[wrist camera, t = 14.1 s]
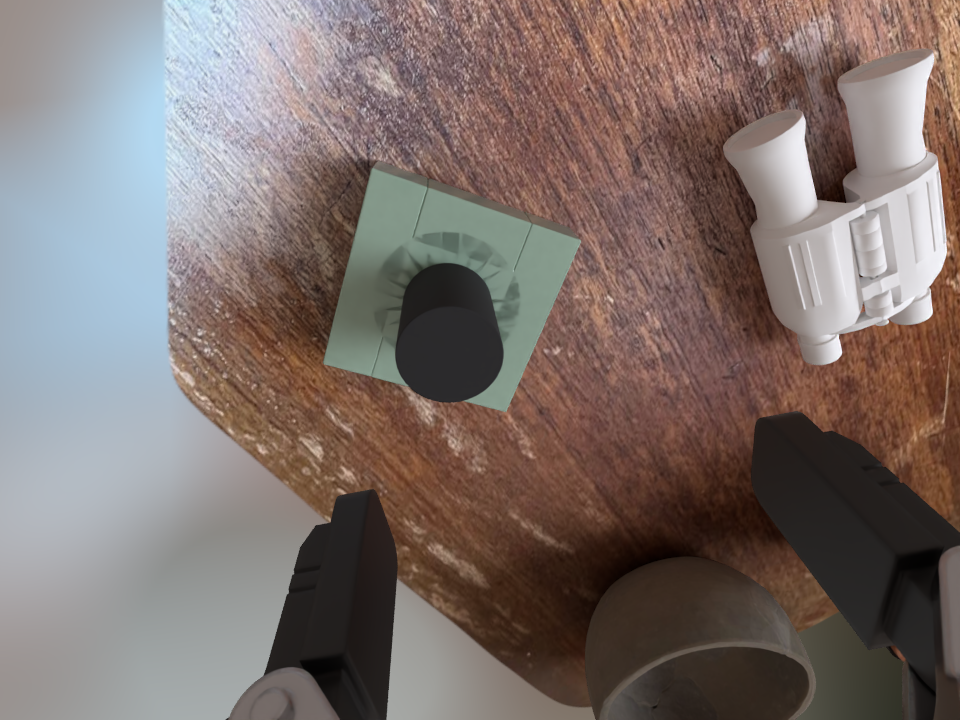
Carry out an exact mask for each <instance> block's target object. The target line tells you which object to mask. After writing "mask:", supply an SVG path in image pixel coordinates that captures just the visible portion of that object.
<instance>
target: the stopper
mask: <svg viewBox="0 0 960 720" xmlns="http://www.w3.org/2000/svg"><path fill="white" fill-rule="evenodd" d="M503 359H504V349H503V343H502V339H501V335H500V331H499V327H498V323H497V319H496V314H495V310H494V306H493V302H492V298H491V294H490V291H489V289H488V286H487V285H486V283H485V282H484V280H483V279H482V278H481V277H480V276H479V275H478V274H477V273H476V272H474V271H473V270H471V269H469V268H468V267H465V266H463V265H459V264H454V263H441V264H436V265H432V266H430V267H427V268H425V269H423V270H422V271H420V272H419V273H418V274H416V275H415V276H414V277H413V278H412V280H411V281H410V282H409V284H408V286H407V288H406V290H405V293H404V297H403V302H402V309H401V315H400V322H399V329H398V335H397V342H396V349H395V361H396V365H397V368H398V371H399V373H400V375H401V377H402V379H403V380H404V381H405V383H406V384H407V385H408V386H409V387H410V388H411V389H412V390H413V391H415V392H416V393H418V394H419V395H421V396H423V397H425V398H427V399H430V400H434V401H438V402H460V401H464V400H468V399H470V398H473V397H475V396H477V395H479V394H481V393H482V392H483V391H485V390H486V389H487V388H488V387H489V386H490V385H491V384H492V383H493V382H494V381H495V379H496V378H497V376H498V374H499V372H500V370H501V367H502V364H503Z"/></svg>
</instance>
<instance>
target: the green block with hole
mask: <svg viewBox="0 0 960 720" xmlns="http://www.w3.org/2000/svg"><path fill="white" fill-rule="evenodd" d="M580 242H581V240H580V239H579V238H578V237H577V235H576V234H575V233H574V232H573V231H572V230H571V229H570V227H567V226H564V225H561V224H559V223H556V222H553V221H550V220H547V219H544V218H541V217H539V216H536V215H533V214H530V213H527V212H524V211H521V210H518V209H516V208H513V207H510V206H507V205H504V204H501V203H498V202H496V201H493V200H490V199H487V198H484V197H481V196H478V195H476V194H473V193H470V192H467V191H464V190H461V189H458V188H456V187H453V186H450V185H447V184H444V183H441V182H438V181H436V180H433V179H428V178H427V177H424V176H421V175H418V174H415V173H413V172H410V171H407V170H404V169H401V168H398V167H395V166H393V165H390V164H387V163H384V162H381V161H377V162H376V163H375V165H374V166H373V167H372V169H371V172H370V176H369V180H368V184H367V188H366V192H365V196H364V200H363V204H362V208H361V212H360V216H359V220H358V224H357V228H356V232H355V236H354V240H353V244H352V248H351V252H350V256H349V260H348V264H347V268H346V272H345V276H344V280H343V284H342V288H341V292H340V296H339V300H338V304H337V308H336V312H335V316H334V320H333V324H332V328H331V332H330V336H329V340H328V344H327V348H326V352H325V356H324V360H323V364H325V365H329V366H332V367H336V368H340V369H344V370H348V371H352V372H355V373H359V374H363V375H367V376H371V377H374V378H377V379H381V380H385V381H389V382H393V383H397V384H400V385H404V386H408V385H407V384H406V383H405V381H404V380H403V379H402V377H401V375H400V373H399V371H398V368H397V365H396V361H395V349H396V342H397V335H398V329H399V322H400V315H401V309H402V302H403V297H404V293H405V290H406V288H407V286H408V284H409V282H410V281H411V280H412V278H413V277H414V276H415V275H416V274H418V273H419V272H420V271H422V270H423V269H425V268H427V267H430V266H432V265H436V264H441V263H454V264H459V265H463V266H465V267H468V268H469V269H471V270H473V271H474V272H476V273H477V274H478V275H479V276H480V277H481V278H482V279H483V280H484V282H485V283H486V285H487V286H488V289H489V291H490V294H491V298H492V302H493V306H494V310H495V314H496V319H497V323H498V327H499V331H500V335H501V339H502V343H503V349H504V359H503V364H502V367H501V370H500V372H499V374H498V376H497V378H496V379H495V381H494V382H493V383H492V384H491V385H490V386H489V387H488V388H487V389H486V390H485V391H483V392H482V393H481V394H479V395H477V396H475V397H473V398H470V399H468V400H464V401H465V402H469V403H473V404H477V405H481V406H485V407H488V408H492V409H496V410H500V411H504V412H506V411H507V409H508V406H509V404H510V402H511V400H512V397H513V395H514V393H515V391H516V388H517V386H518V384H519V381H520V379H521V377H522V375H523V372H524V370H525V368H526V365H527V363H528V361H529V359H530V356H531V354H532V352H533V350H534V347H535V345H536V343H537V340H538V338H539V336H540V334H541V331H542V329H543V327H544V324H545V322H546V320H547V318H548V315H549V313H550V311H551V309H552V306H553V304H554V302H555V299H556V297H557V295H558V293H559V290H560V288H561V286H562V283H563V281H564V279H565V277H566V274H567V272H568V270H569V268H570V265H571V263H572V261H573V258H574V256H575V254H576V252H577V249H578V247H579V245H580ZM408 387H409V386H408Z"/></svg>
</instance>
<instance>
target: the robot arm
mask: <svg viewBox="0 0 960 720" xmlns="http://www.w3.org/2000/svg"><path fill="white" fill-rule="evenodd" d="M751 482H752V487H753V490H754V493H755V495H756V498H757V500H758V501H759V503H760V505H761V506H762V508H763V509H764V510H765V512H766V513H767V514H768V516H769V517H770V518H771V520H772V521H773V522H774V524H775V525H776V526H777V528H778V529H779V530H780V532H781V533H782V534H783V536H784V537H785V538H786V540H787V541H788V542H789V544H790V545H791V546H792V548H793V549H794V551H795V552H796V553H797V555H798V556H799V557H800V559H801V560H802V561H803V563H804V564H805V565H806V567H807V568H808V569H809V571H810V572H811V573H812V575H813V576H814V577H815V579H816V580H817V581H818V583H819V584H820V585H821V587H822V588H823V589H824V591H825V592H826V593H827V595H828V596H829V598H830V599H831V600H832V602H833V603H834V604H835V606H836V607H837V608H838V610H839V611H840V612H841V614H842V615H843V616H844V618H845V619H846V620H847V622H848V623H849V624H850V626H851V627H852V628H853V630H854V631H855V632H856V634H857V635H858V636H859V638H860V639H861V640H862V642H863V643H864V645H865V646H866V647H867V649H868V650H871V649H877V648H882V647H888V646H894V645H895V646H896V647H897V649H898V650H899V651H900V652H901V654H902V655H903V656H904V657H905V661H904V664H903V670H902V686H903V687H902V693H903V694H902V705H903V707H902V710H903V711H902V713H903V715H902V717H903V719H902V720H960V532H958V531H957V530H956V529H955V528H954V527H953V526H952V525H951V524H949V523H948V522H947V521H946V520H945V519H944V518H943V517H942V516H940V515H939V514H938V513H937V512H936V511H935V510H934V509H933V508H931V507H930V506H929V505H928V504H927V503H926V502H925V501H923V500H922V499H921V498H920V497H919V496H918V495H917V494H916V493H914V492H913V491H912V490H911V489H910V488H909V487H908V486H907V485H905V484H904V483H900V482H899V478H898V477H896V476H895V475H894V474H893V473H892V472H891V471H890V470H888V469H887V468H886V467H882V465H881V462H879V461H878V460H877V459H876V458H875V457H874V456H873V455H872V454H870V453H869V452H868V451H867V450H866V449H865V448H864V447H863V446H861V445H860V444H858V443H856V442H854V441H852V440H850V439H848V438H846V437H844V436H842V435H840V434H838V433H836V432H834V431H828V432H822V431H821V430H820V429H819V428H818V427H817V426H816V425H815V424H814V423H813V422H812V421H811V420H810V419H809V418H808V417H807V416H805V415H804V414H803V413H801V412H798V411H795V412H789V413H784V414H779V415H773V416H768V417H762V418H759V419H758V420H757V422H756V425H755V433H754V444H753V455H752V467H751ZM396 582H397V553H396V547H395V543H394V539H393V536H392V533H391V531H390V528H389V525H388V522H387V519H386V517H385V514H384V511H383V508H382V505H381V503H380V500H379V497H378V495H377V493H376V491H375V490H374V489H371V490H366V491H360V492H355V493H350V494H344V495H339V496H338V497H337V499H336V502H335V506H334V510H333V514H332V519H331V523H327V524H322V525H316V526H315V528H314V529H313V530H312V532H311V533H310V534H309V536H308V537H307V539H306V540H305V542H304V543H303V544H302V546H301V547H300V550H299V554H298V557H297V561H296V564H295V568H294V575H292V579H291V583H290V586H289V594H287V596H286V600H285V604H284V607H283V611H282V614H281V618H280V622H279V625H278V629H277V632H276V636H275V639H274V643H273V646H272V650H271V654H270V657H269V661H268V664H267V668H266V670H265V673H264V676H263V677H261V678H260V679H259V680H257V681H256V682H255V683H254V684H252V685H251V686H250V687H249V688H248V689H247V690H246V692H244V694H243V695H242V696H241V697H240V699H239V700H238V702H237V703H236V705H235V706H234V708H233V710H232V712H231V714H230V717H229V718H227V719H226V720H386V717H387V703H388V690H389V676H390V663H391V649H392V636H393V623H394V610H395V595H396Z"/></svg>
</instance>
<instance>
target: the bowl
mask: <svg viewBox="0 0 960 720" xmlns="http://www.w3.org/2000/svg"><path fill="white" fill-rule="evenodd" d="M585 671H586V680H587V686H588V691H589V696H590V701H591V705H592V709H593V712H594V715H595V719H596V720H795V719H797V717H798V716H799V715H800V714H802V713H803V712H804V711H805V710H806V708H807V707H808V705H809V704H810V703H811V701H812V699H813V697H814V694H815V689H816V679H815V675H814V671H813V668H812V666H811V663H810V660H809V658H808V656H807V653H806V651H805V648H804V647H803V645H802V642H801V640H800V638H799V636H798V634H797V632H796V630H795V628H794V627H793V625H792V624H791V622H790V620H789V618H788V616H787V614H786V613H785V611H784V610H783V609H782V608H781V606H780V605H779V604H778V603H777V601H776V600H775V599H774V598H773V596H772V595H771V594H770V593H769V592H768V591H767V590H766V589H765V588H764V587H762V586H761V585H759V584H758V583H756V582H755V581H754V580H753V579H751V578H750V577H748V576H746V575H744V574H743V573H741V572H739V571H737V570H735V569H733V568H731V567H729V566H727V565H724V564H722V563H719V562H717V561H714V560H710V559H705V558H700V557H674V558H668V559H664V560H659V561H655V562H651V563H648V564H646V565H643V566H641V567H638V568H636V569H634V570H633V571H631V572H629V573H627V574H625V575H624V576H622V577H621V578H619V579H618V580H617V581H616V582H614V583H613V584H612V585H611V586H610V587H609V588H608V589H607V591H606V592H605V593H604V595H603V596H602V597H601V599H600V601H599V603H598V605H597V606H596V609H595V611H594V613H593V616H592V618H591V621H590V625H589V629H588V633H587V639H586V648H585Z"/></svg>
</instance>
